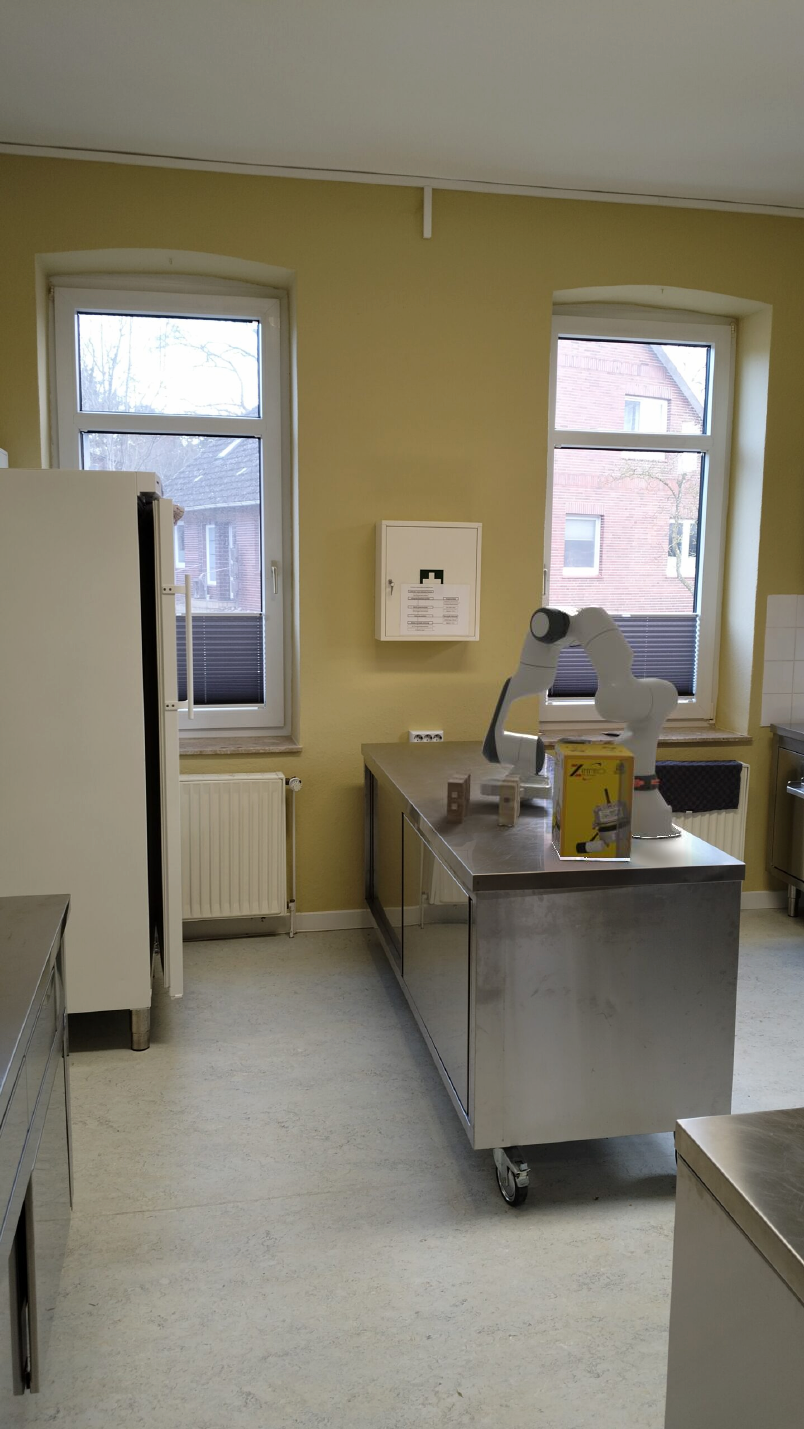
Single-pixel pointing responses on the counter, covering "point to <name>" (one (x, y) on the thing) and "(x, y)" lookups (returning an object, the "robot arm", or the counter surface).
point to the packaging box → (593, 800)
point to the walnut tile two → (458, 797)
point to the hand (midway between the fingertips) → (513, 794)
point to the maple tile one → (509, 800)
